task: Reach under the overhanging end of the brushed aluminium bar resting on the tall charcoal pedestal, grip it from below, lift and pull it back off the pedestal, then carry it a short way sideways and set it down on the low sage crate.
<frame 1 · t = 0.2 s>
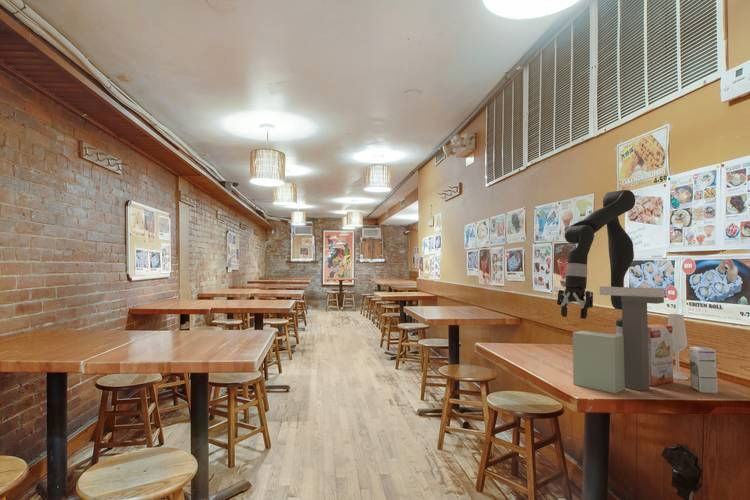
hand: (573, 317, 162), 23 cm above the table, tool pointing down, fingers open, 8 cm apart
pedestal stand: (636, 387, 147), on the table
champagne flute: (677, 377, 163), on the table
sage crate: (598, 386, 149), on the table
aluminium bar: (631, 295, 150), point 32 cm above the table, touching pedestal stand
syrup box: (703, 391, 145), on the table
cracker box: (655, 383, 155), on the table
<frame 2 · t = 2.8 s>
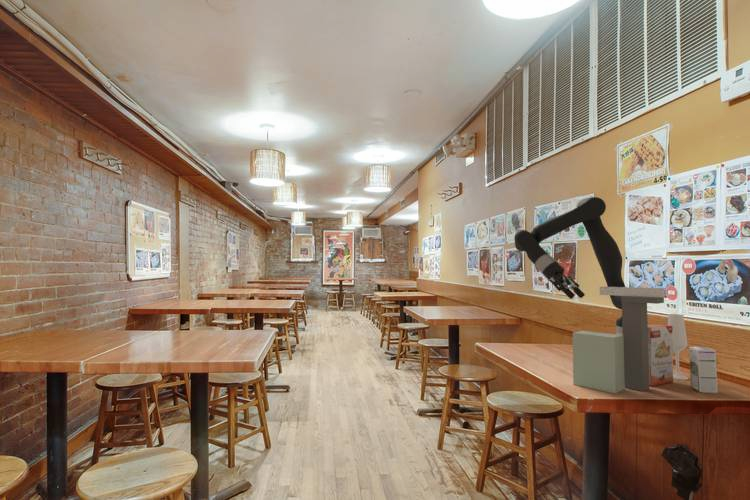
hand: (578, 297, 164), 31 cm above the table, tool tilted 45°, fingers open, 8 cm apart
nothing on the table moved.
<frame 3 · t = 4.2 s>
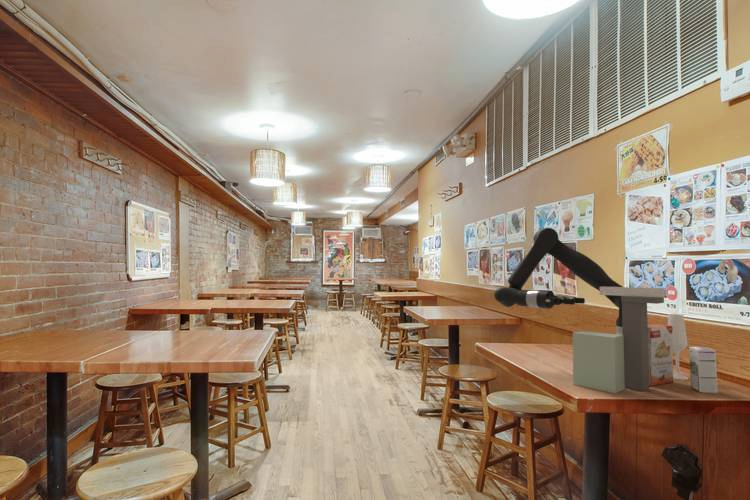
hand: (579, 301, 164), 29 cm above the table, tool horizontal, fingers open, 8 cm apart
nothing on the table moved.
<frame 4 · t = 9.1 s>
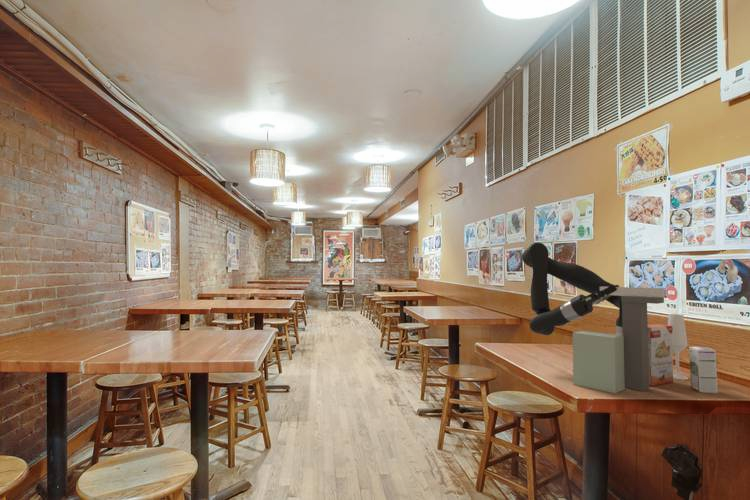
hand: (617, 287, 153), 35 cm above the table, tool pointing upward, fingers closed on aluminium bar, 3 cm apart
aluminium bar: (631, 295, 150), point 32 cm above the table, touching gripper, pedestal stand
everything else where it was.
when the fingers open (25 cm above the table, at t = 17.8 s): aluminium bar drops 4 cm, resting on sage crate.
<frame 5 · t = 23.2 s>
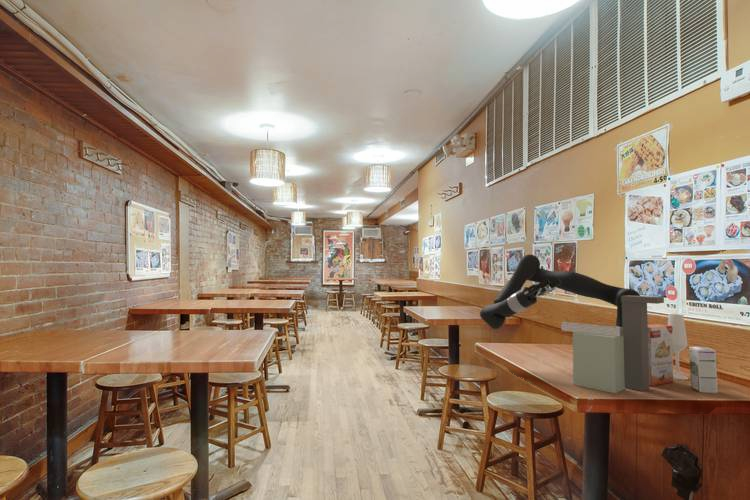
hand: (554, 280, 162), 37 cm above the table, tool pointing upward, fingers open, 8 cm apart
aluminium bar: (591, 333, 151), point 18 cm above the table, touching sage crate
everything else where it was.
at the end: aluminium bar inside the target area on the sage crate (2.3 cm from its centre), point 18.5 cm above the sage crate's base; aluminium bar touching sage crate; the gripper is holding nothing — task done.
